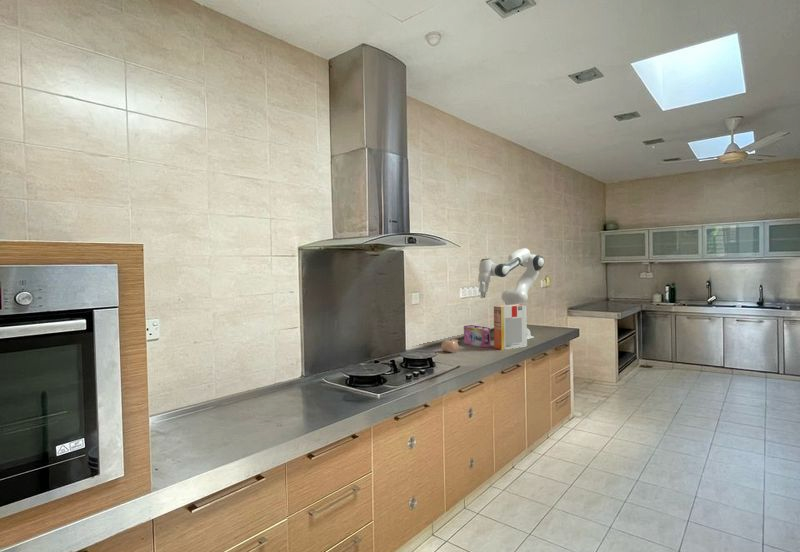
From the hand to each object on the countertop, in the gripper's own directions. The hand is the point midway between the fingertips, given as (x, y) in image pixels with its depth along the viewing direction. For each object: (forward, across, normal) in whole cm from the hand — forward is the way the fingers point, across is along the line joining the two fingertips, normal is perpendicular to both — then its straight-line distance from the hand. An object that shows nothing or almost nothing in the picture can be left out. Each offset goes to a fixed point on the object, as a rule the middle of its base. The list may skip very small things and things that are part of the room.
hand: (482, 298), depth 325 cm
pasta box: (+33, -10, -24) cm, 42 cm away
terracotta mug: (+33, -31, +19) cm, 49 cm away
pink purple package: (+36, -4, +1) cm, 36 cm away
